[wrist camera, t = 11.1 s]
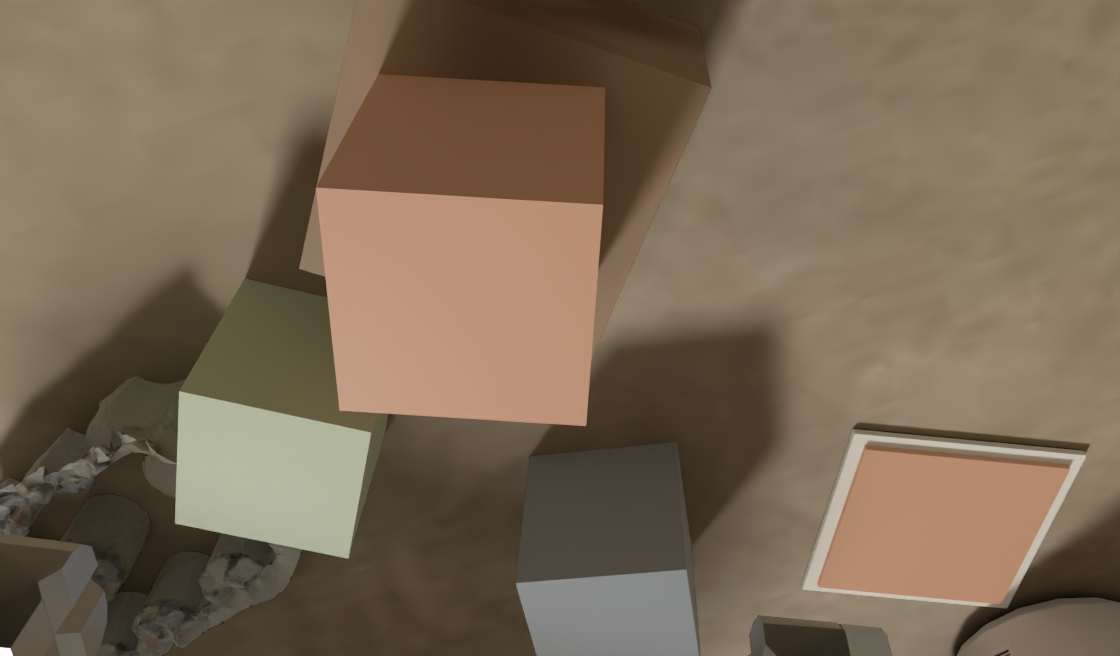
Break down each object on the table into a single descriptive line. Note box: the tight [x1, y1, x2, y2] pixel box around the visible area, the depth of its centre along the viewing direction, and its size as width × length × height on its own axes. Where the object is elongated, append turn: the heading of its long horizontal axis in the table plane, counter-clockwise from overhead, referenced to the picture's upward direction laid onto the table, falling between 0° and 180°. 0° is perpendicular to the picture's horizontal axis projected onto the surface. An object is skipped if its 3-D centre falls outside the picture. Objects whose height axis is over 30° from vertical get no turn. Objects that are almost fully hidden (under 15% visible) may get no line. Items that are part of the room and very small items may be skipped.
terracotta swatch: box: [802, 429, 1087, 609], centre depth 31 cm, size 7×7×1 cm
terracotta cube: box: [316, 74, 605, 426], centre depth 19 cm, size 4×4×5 cm
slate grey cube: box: [516, 442, 700, 656], centre depth 29 cm, size 4×4×5 cm
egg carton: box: [0, 376, 303, 656], centre depth 31 cm, size 11×8×4 cm
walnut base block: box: [299, 0, 711, 355], centre depth 23 cm, size 7×7×4 cm
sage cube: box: [175, 279, 389, 559], centre depth 26 cm, size 4×4×5 cm
